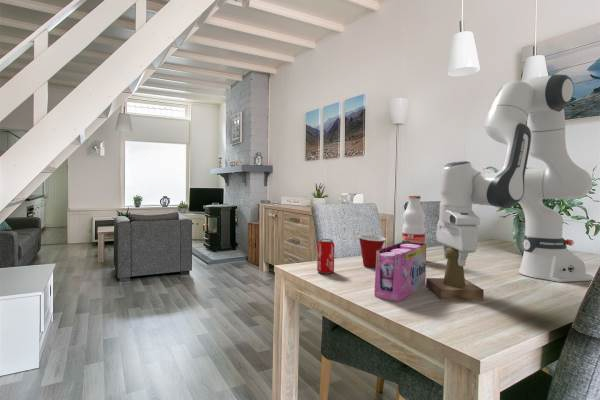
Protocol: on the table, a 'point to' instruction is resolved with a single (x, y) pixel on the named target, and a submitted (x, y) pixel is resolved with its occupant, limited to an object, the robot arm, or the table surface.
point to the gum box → (400, 270)
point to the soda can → (325, 256)
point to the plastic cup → (370, 248)
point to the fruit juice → (414, 222)
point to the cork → (453, 269)
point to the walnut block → (454, 290)
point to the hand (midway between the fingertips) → (454, 261)
